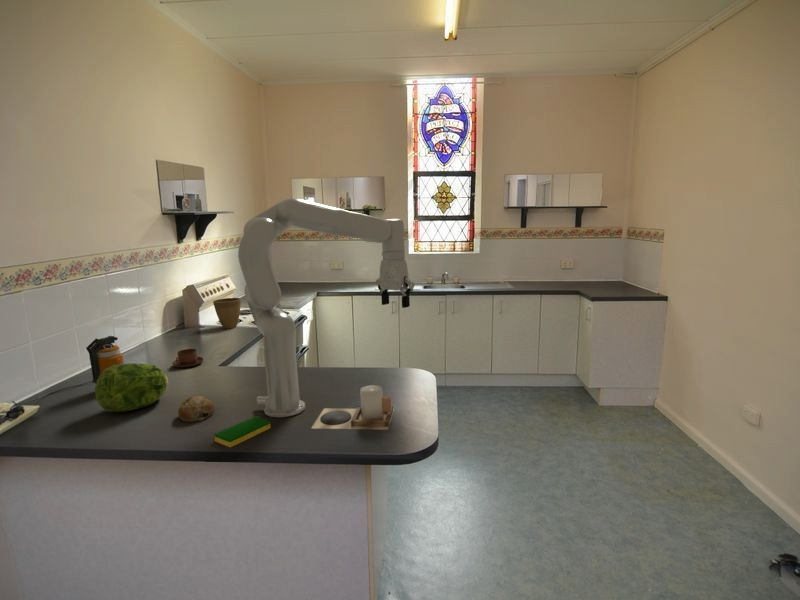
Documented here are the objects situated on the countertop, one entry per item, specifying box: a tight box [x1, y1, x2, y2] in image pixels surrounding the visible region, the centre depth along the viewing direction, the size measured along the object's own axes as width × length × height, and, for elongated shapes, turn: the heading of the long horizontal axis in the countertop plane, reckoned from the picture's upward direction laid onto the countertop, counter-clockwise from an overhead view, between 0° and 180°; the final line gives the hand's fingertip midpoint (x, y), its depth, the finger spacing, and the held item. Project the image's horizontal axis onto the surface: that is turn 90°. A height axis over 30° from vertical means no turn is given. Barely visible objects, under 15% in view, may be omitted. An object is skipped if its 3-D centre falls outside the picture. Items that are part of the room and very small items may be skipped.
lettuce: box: [94, 362, 169, 413], centre depth 156 cm, size 16×21×15 cm
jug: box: [359, 384, 393, 420], centre depth 137 cm, size 9×6×9 cm
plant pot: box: [212, 297, 242, 329], centre depth 269 cm, size 15×15×16 cm
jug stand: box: [310, 405, 395, 431], centre depth 139 cm, size 22×14×2 cm, turn 84°
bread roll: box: [177, 395, 215, 423], centre depth 147 cm, size 10×10×8 cm
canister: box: [85, 335, 125, 384], centre depth 171 cm, size 9×11×20 cm
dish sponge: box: [214, 416, 272, 448], centre depth 133 cm, size 7×14×2 cm, turn 145°
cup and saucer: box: [172, 348, 204, 368], centre depth 201 cm, size 12×12×6 cm
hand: (395, 305), depth 163 cm, fingers open, 9 cm apart
